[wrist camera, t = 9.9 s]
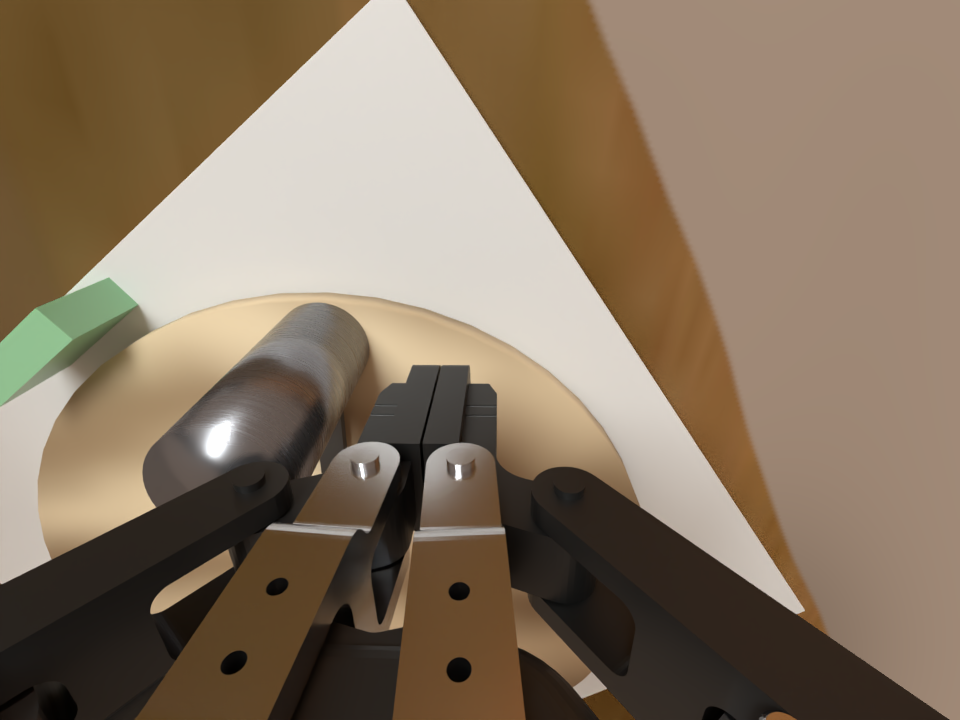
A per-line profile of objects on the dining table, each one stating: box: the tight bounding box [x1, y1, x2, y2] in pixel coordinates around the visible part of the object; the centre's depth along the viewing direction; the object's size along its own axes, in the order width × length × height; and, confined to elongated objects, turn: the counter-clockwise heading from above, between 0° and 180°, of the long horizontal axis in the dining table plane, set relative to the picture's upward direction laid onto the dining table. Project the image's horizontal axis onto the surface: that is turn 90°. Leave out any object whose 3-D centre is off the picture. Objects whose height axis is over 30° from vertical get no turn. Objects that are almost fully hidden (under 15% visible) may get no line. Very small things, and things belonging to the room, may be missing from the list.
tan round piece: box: [38, 292, 640, 687], centre depth 18 cm, size 25×25×8 cm
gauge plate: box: [0, 0, 805, 698], centre depth 21 cm, size 30×30×4 cm
